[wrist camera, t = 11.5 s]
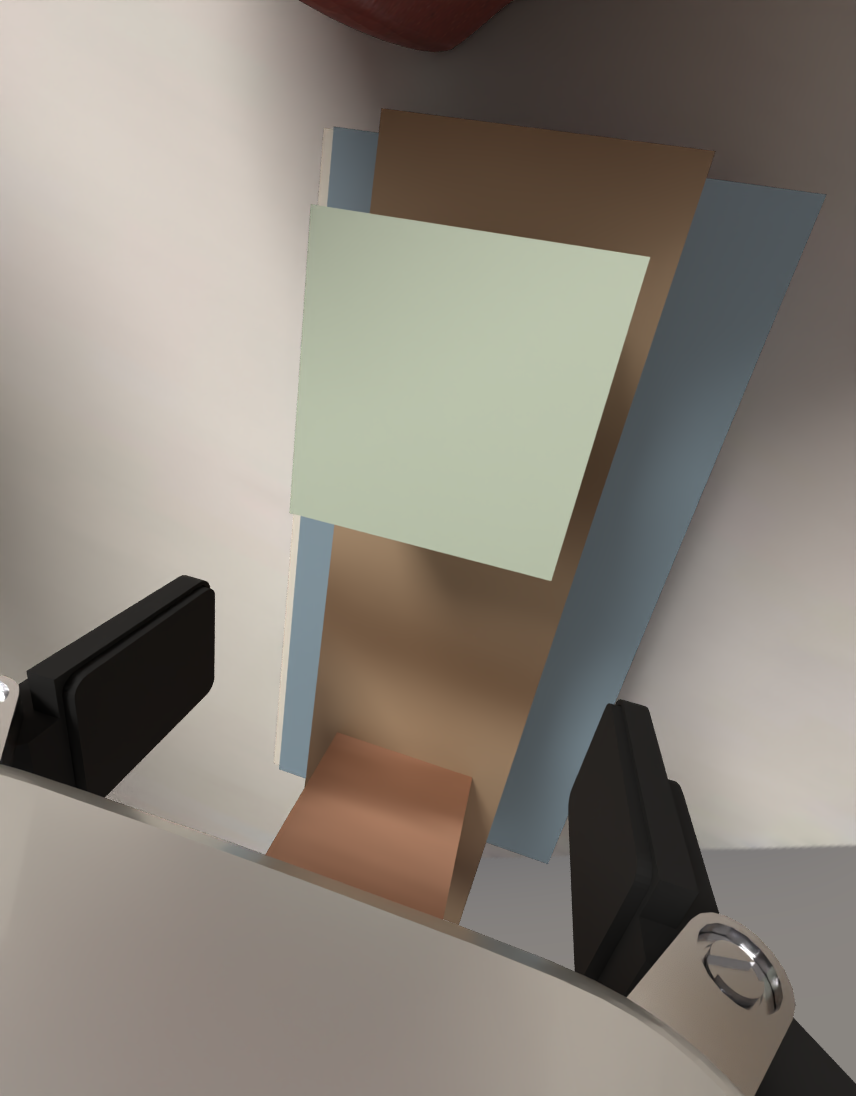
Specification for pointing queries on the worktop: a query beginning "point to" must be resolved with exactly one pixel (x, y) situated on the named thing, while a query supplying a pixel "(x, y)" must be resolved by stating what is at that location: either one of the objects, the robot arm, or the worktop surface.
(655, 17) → the worktop surface
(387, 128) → the brown wooden block
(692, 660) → the worktop surface
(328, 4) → the plant pot
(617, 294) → the pale green cube
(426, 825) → the copper orange cube
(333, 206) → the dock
